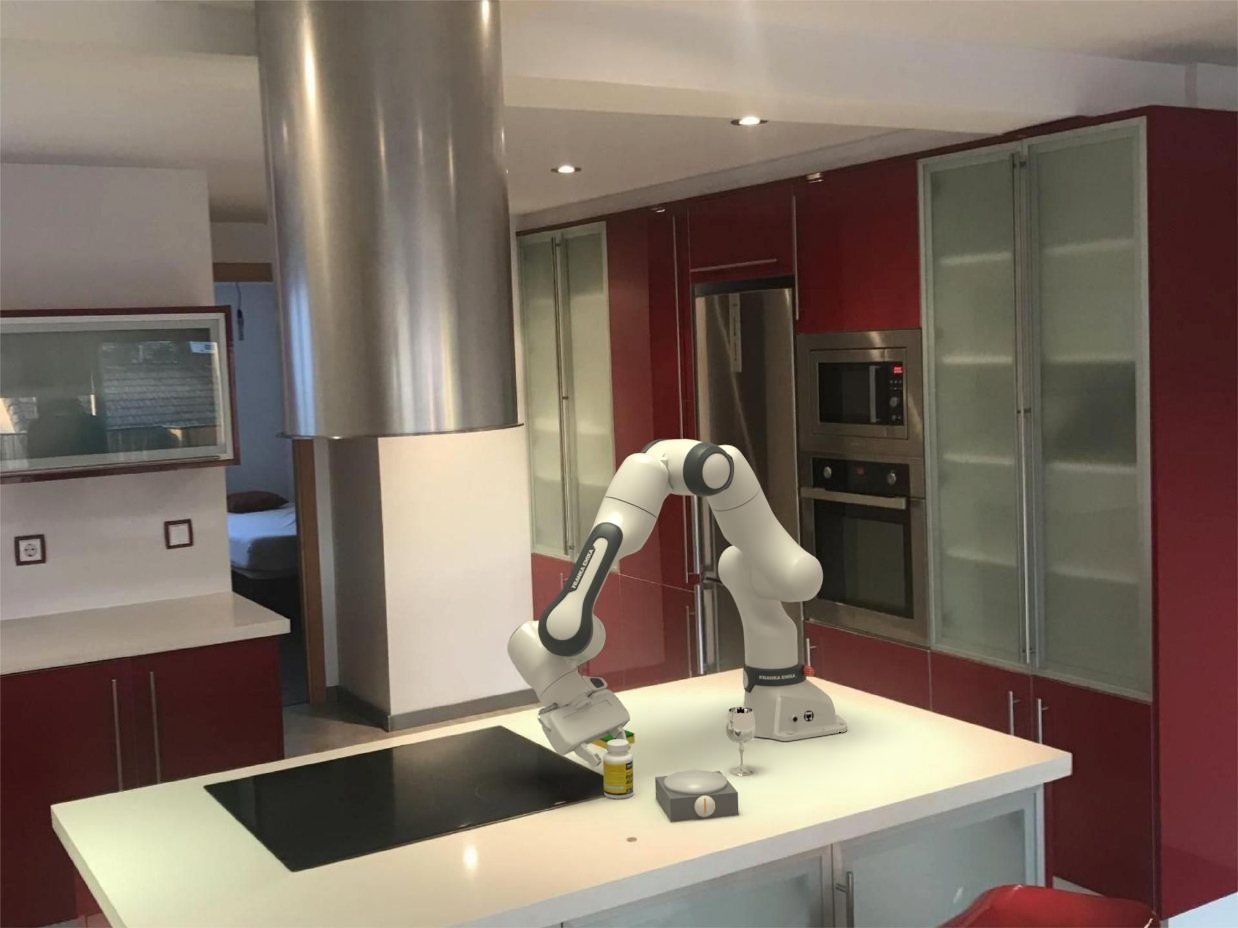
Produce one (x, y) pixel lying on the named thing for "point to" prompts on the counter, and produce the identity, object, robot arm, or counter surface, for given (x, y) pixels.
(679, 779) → the kitchen scale
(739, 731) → the wineglass
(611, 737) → the dish sponge
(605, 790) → the supplement bottle
